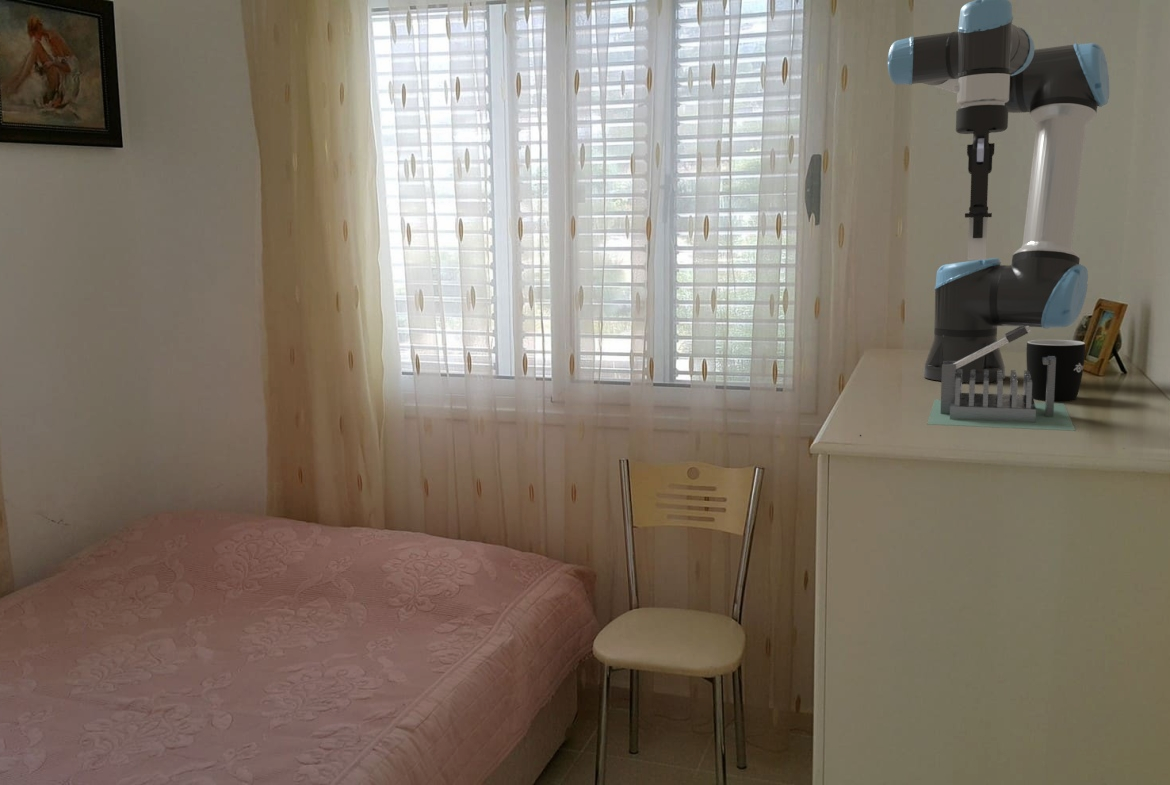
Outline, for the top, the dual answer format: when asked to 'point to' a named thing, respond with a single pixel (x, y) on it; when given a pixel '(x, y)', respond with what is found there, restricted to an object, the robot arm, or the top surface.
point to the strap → (994, 345)
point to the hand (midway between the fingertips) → (976, 259)
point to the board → (1042, 422)
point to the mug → (1066, 367)
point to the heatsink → (994, 396)
